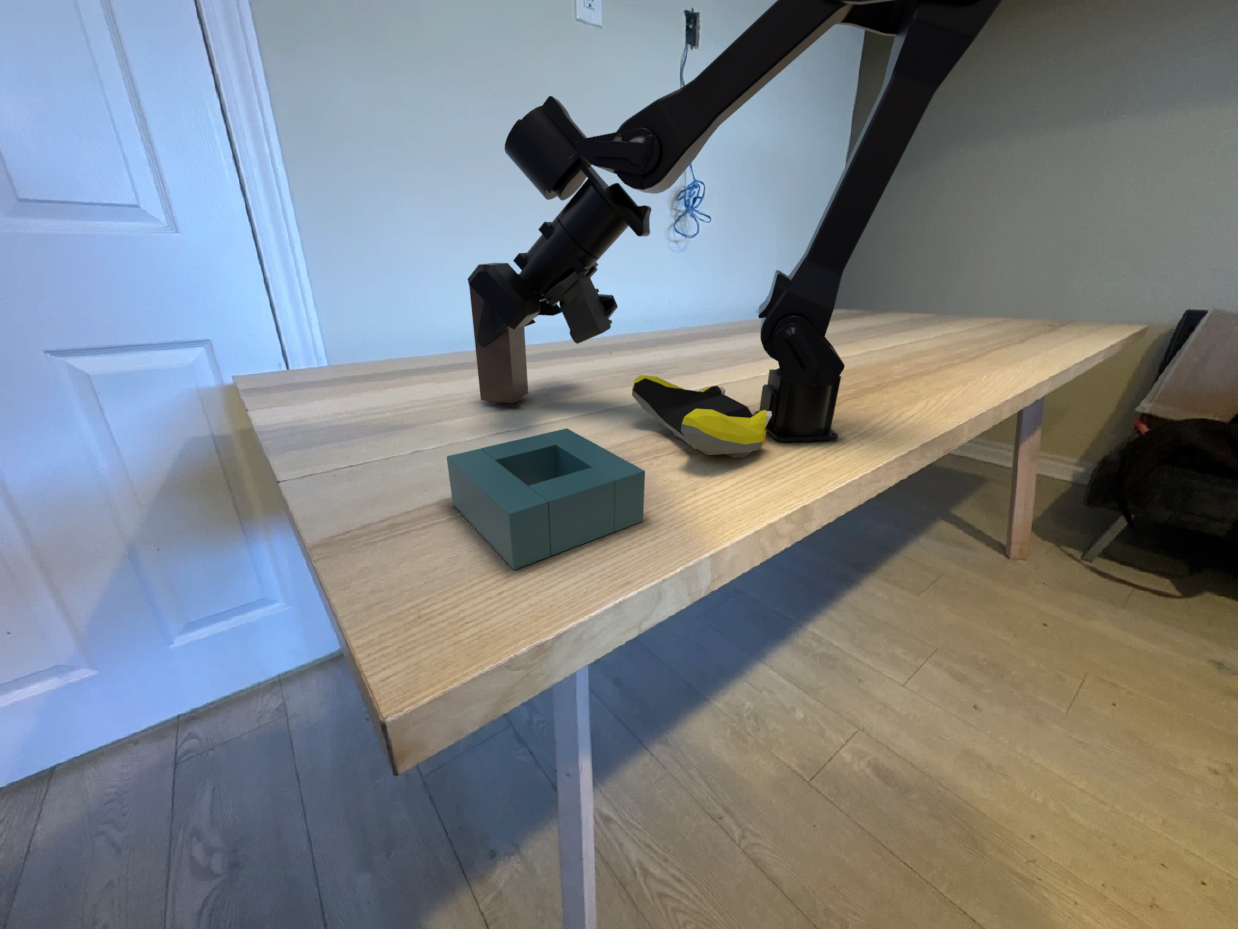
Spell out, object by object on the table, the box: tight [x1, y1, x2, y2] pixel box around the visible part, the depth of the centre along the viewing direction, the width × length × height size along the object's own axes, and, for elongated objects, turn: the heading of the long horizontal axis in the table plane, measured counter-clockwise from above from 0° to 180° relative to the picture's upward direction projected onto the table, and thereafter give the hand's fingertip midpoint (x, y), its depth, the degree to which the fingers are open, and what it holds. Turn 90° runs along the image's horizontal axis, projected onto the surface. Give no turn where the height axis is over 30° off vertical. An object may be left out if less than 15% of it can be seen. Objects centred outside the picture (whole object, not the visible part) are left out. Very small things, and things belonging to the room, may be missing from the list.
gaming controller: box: [631, 374, 772, 459], centre depth 50 cm, size 15×6×10 cm
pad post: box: [468, 284, 529, 404], centre depth 59 cm, size 4×4×13 cm
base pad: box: [446, 427, 646, 571], centre depth 37 cm, size 10×10×4 cm
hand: (489, 340), depth 59 cm, fingers closed on pad post, 4 cm apart
